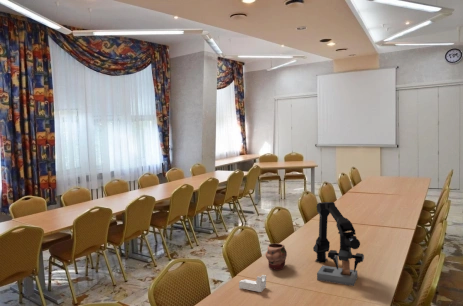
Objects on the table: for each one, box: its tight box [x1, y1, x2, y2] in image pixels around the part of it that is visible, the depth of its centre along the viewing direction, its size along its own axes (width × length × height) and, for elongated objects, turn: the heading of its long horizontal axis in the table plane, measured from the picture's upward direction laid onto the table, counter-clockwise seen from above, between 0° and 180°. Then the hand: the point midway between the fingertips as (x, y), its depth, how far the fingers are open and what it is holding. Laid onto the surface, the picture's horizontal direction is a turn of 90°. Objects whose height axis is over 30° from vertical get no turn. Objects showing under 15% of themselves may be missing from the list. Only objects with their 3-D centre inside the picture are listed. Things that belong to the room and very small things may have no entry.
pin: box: [341, 259, 351, 276], centre depth 197 cm, size 4×4×10 cm
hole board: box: [316, 265, 358, 287], centre depth 200 cm, size 12×20×4 cm, turn 61°
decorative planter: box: [265, 242, 288, 271], centre depth 222 cm, size 20×12×14 cm, turn 150°
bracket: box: [238, 274, 267, 293], centre depth 194 cm, size 13×7×8 cm, turn 61°
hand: (346, 270), depth 197 cm, fingers open, 9 cm apart
